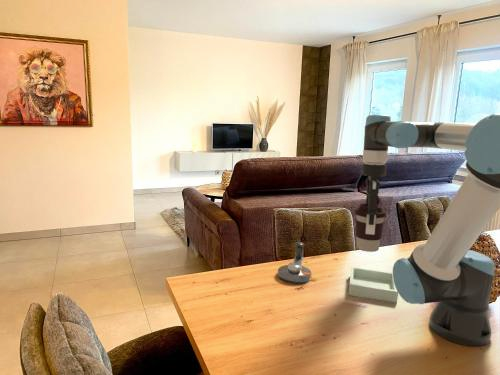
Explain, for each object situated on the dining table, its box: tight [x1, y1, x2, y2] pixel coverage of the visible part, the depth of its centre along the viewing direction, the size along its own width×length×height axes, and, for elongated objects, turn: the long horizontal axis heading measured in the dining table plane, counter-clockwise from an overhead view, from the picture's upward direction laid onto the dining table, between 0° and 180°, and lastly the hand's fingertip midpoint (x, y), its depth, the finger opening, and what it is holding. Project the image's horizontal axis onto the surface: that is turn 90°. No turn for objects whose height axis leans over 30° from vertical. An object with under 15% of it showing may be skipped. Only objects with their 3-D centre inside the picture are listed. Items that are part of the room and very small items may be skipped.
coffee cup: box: [354, 202, 387, 253], centre depth 125 cm, size 10×10×15 cm
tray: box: [348, 266, 399, 304], centre depth 128 cm, size 15×15×4 cm
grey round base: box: [277, 264, 318, 285], centre depth 136 cm, size 12×14×2 cm
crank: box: [287, 241, 305, 274], centre depth 139 cm, size 13×5×7 cm, turn 163°
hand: (369, 229), depth 125 cm, fingers closed on coffee cup, 10 cm apart
